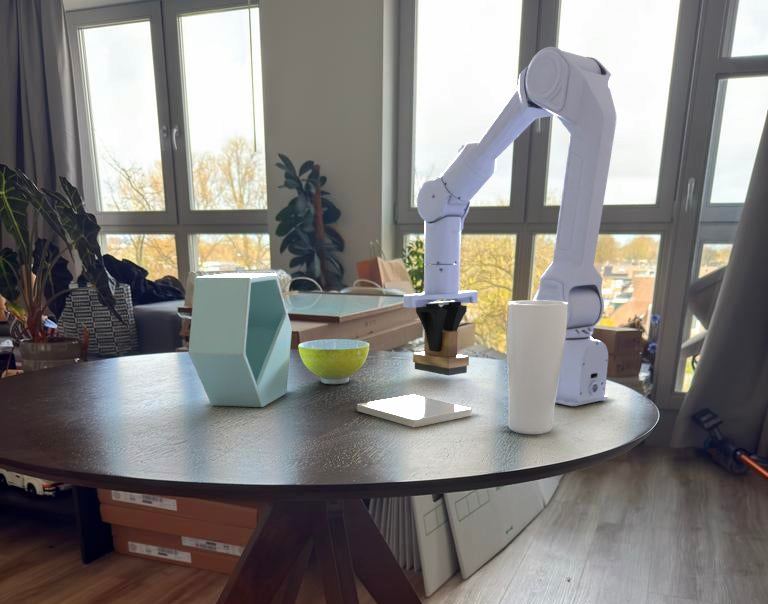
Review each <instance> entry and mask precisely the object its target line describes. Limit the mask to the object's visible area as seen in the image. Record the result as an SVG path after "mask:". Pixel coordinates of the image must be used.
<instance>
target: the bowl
mask: <svg viewBox="0 0 768 604" xmlns="http://www.w3.org/2000/svg"><path fill="white" fill-rule="evenodd" d="M369 351H370V343H369V342H367V341H364V340H358V339H347V338H332V339H330V338H329V339H316V340H309V341H304V342H301V343H298V354H299V356H300V359H301V361H302V363H303V364H304V366H305V368H307V369H308V370H309V371H310V372H311V373H312V374H314V375H316V376H318V377H319V378H320V383H322V384H325V385H342V384H347V383H349V380H350V377H351V376H352V375H355V374H356V373H357V372H358V371H359V370H360V369H361V368H362V367H363V366H364V364H365V362H366V361H367V358H368V355H369Z"/></svg>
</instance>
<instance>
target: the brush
mask: <svg viewBox="0 0 768 604" xmlns="http://www.w3.org/2000/svg"><path fill="white" fill-rule="evenodd" d="M458 332H459V331H458V330H457V331H451V330H442V344H441V350H440V352H435V351H430V350H429V346H428V341H427V337H426V334H425V333H424V341H423V342H424V347H423V349H424V350H423V351H420V352H419V351H418V352H412V362H413V363H414V370H418V371H423V372H429V373H434V374H438V375H444V376H454V375H460V374H467V373H468V372H467V371H468V366H469V365H470V356H468V355H463V354H458V335H459V334H458Z"/></svg>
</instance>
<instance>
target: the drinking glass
mask: <svg viewBox="0 0 768 604" xmlns="http://www.w3.org/2000/svg"><path fill="white" fill-rule="evenodd" d="M567 305H568V304H567V303H566V302H563V301H550V300H533V299H527V300H525V299H523V300H522V299H521V300H512V301H509V302H508V306H507V319H506V337H505V338H506V344H505V345H506V366H507V367H506V371H507V405H508V407H507V408H508V410H507V414H508V415H507V427H508V429H509V430H510V431H511V432H514V433H517V434H520V435H521V434H522V435H544V434H547V433H549V432H550V431H552V429H553V426H554V414H555V407H556V403H555V401H556V395H557V389H558V382H559V376H560V370H561V364H562V358H563V352H564V346H565V338H566V328H567Z"/></svg>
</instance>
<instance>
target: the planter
mask: <svg viewBox="0 0 768 604" xmlns="http://www.w3.org/2000/svg"><path fill="white" fill-rule="evenodd" d="M193 286H194V287H193V297H192V308H191V321H190V330H189V331H190V332H189V342H188V355H189V358H190V360H191V362H192V365H193V366H194V369H195V371H196V373H197V376H198V378H199V381H200V382H201V385H202V387H203V390H204V392H205V394H206V396H207V398H208V400H209V403H210V405H211V406H219V407H241V408H246V407H247V408H264V407H265V406H267V405H269V404H271V403H273V402H274V401H276V400H278V399H279V398H281V397H283V396H285V395H286V394H287V391H288V390H287V389H288V382H289V369H290V356H291V346H292V345H291V343H292V332H293V331H292V330H293V327H292V323H291V320H290V317H289V313H288V309H287V305H286V303H285V298H284V296H283V295H284V294H283V291H282V288H281V283H280V281H279V277H278V275H277V273H222V274H221V273H220V274H213V275H212V274H211V275H202V276H195V278H194V285H193Z"/></svg>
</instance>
